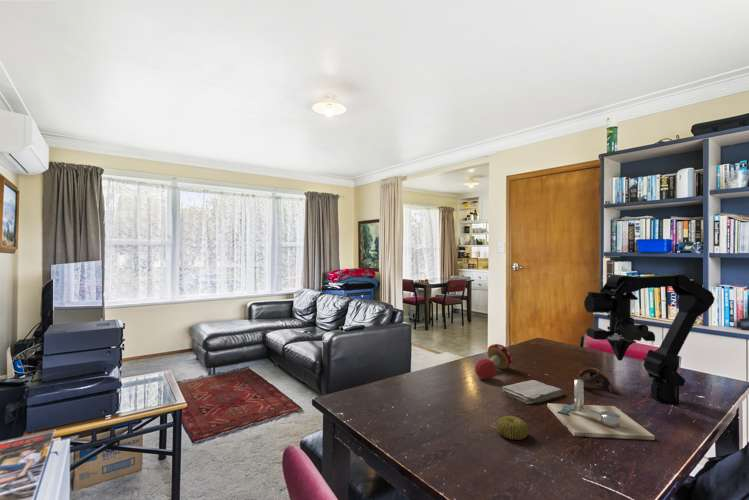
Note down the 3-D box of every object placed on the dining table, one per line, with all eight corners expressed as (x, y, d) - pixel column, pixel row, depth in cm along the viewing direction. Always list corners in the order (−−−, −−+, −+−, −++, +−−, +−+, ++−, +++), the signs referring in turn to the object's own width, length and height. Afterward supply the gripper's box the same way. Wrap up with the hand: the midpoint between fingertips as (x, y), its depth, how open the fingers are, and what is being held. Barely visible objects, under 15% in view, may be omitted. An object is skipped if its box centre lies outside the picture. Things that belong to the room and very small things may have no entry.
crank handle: (622, 424, 99) (622, 389, 99) (616, 429, 96) (617, 393, 96) (569, 407, 109) (569, 375, 109) (563, 411, 106) (563, 379, 106)
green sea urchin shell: (523, 430, 90) (491, 420, 95) (523, 446, 90) (491, 436, 95) (532, 419, 96) (502, 410, 101) (532, 434, 96) (502, 424, 101)
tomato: (492, 360, 132) (483, 350, 140) (475, 372, 133) (467, 362, 140) (503, 375, 134) (494, 364, 142) (486, 387, 134) (478, 376, 142)
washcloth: (499, 394, 124) (499, 385, 124) (533, 385, 133) (533, 376, 133) (529, 407, 114) (529, 397, 114) (564, 396, 122) (564, 387, 122)
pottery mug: (616, 398, 122) (603, 376, 122) (586, 404, 126) (574, 383, 126) (611, 378, 132) (600, 358, 132) (585, 384, 137) (574, 365, 137)
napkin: (614, 409, 111) (614, 405, 111) (654, 439, 93) (654, 434, 93) (547, 406, 113) (547, 402, 113) (574, 436, 95) (574, 431, 95)
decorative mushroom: (483, 354, 140) (504, 335, 149) (467, 362, 149) (489, 344, 157) (502, 379, 137) (523, 359, 145) (485, 385, 146) (505, 366, 154)
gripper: (603, 316, 112) (603, 367, 112) (667, 318, 110) (667, 369, 110) (585, 310, 123) (585, 356, 123) (643, 312, 121) (643, 358, 121)
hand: (619, 360), depth 119 cm, fingers closed
